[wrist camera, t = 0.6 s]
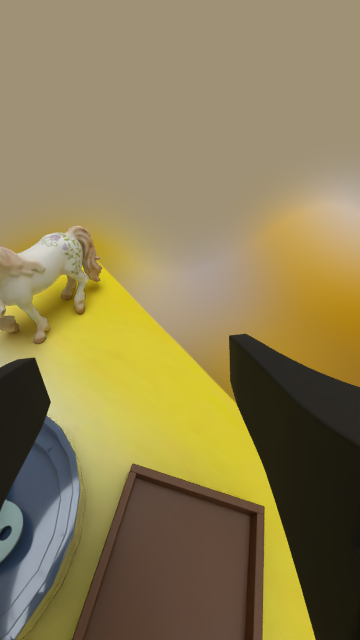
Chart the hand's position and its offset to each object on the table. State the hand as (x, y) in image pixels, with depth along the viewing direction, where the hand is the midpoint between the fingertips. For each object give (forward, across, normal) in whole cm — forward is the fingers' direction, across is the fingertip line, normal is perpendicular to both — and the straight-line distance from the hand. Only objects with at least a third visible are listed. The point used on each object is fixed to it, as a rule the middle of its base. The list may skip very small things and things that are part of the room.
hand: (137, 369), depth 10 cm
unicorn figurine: (+21, +12, +7) cm, 25 cm away
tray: (+1, +1, +19) cm, 19 cm away
